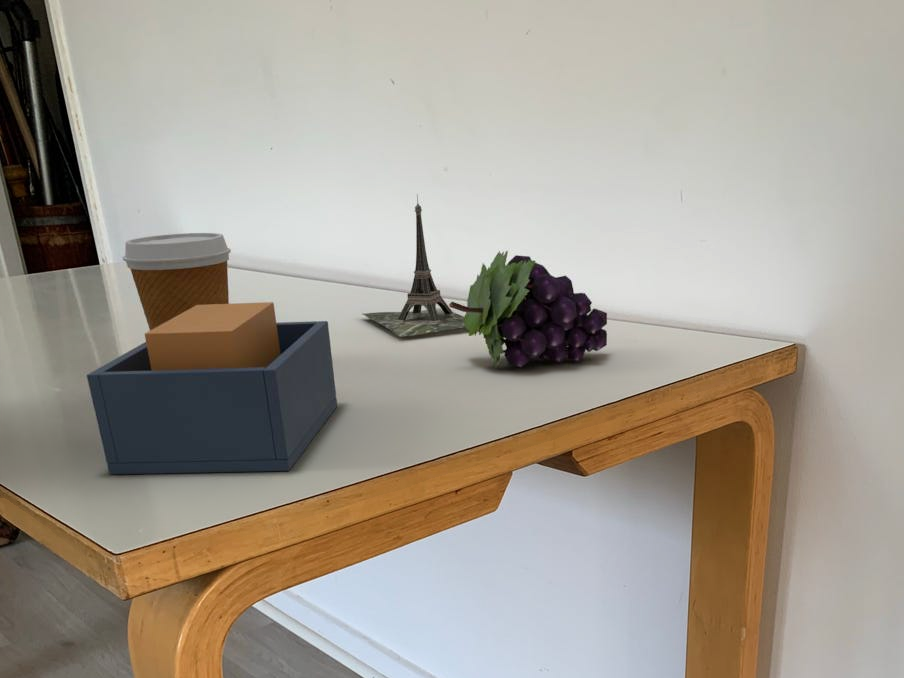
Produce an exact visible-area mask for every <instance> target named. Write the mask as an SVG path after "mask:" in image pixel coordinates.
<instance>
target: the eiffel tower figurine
mask: <svg viewBox="0 0 904 678" xmlns="http://www.w3.org/2000/svg"><path fill="white" fill-rule="evenodd" d="M416 200H417V203H416V206H414V212H415V222H416V223H415V226H416V227H415V229H416V231H415V232H416V237H415V238H416V239H415V240H416V245H415V248H416V249H415V252H416V253H415V269H414V271H413V273H414V276H413V281H412V285H411V289H410V292H407V299H406V302H405V304H404V305H403V307H402V309H401V311H379V312H377V311H376V312H365V313H362V315H363V316H365V317H366V318H368V319H370V320H371V321H373V322H375V323H377V324H379V325H381V326H383V327H384V328H386V329H388V330H389V331H391V332H392V333H393V334H395V335H396V336H397V337H399V338H403V337H409V336H417V335H424V334H429V333H430V334H431V333H436V332H437V333H438V332H442V331H448V330H455V329H460V328H466V327H465V326H464V315H461V314H458V313H456V312H453V310H452V309H451V307H450V306H449V304H447V302H446V301H445V300H444V298H443V297H442V296H441V290H440V289H437V287H436V284H435V282H434V279H433V276H432V273H431V272H432V269H430V266H429V262H428V256H427V250H426V249H427V248H426V244H425V243H426V241H425V236H424V228H423V221H422V220H423V219H422V211H423V210H422V206H421V205H420V203H419V195H418V194H416ZM437 306H438V307H439V309H437ZM422 307H423V308H425V310H422ZM411 309H412V311H411Z"/></svg>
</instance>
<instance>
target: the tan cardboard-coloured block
mask: <svg viewBox="0 0 904 678" xmlns="http://www.w3.org/2000/svg"><path fill="white" fill-rule="evenodd" d="M276 323H277V318H276V312H275V304H274V302H273V301H269V302H268V301H267V302H239V303H229V304H207V305H196V306H194V307H192V308H190V309H189V310H187V311H185V312H183V313H181V314H180V315H178V316H176V317H174V318H172V319H170V320H169V321H167V322H165V323H163V324H161V325H160V326H158V327H156V328H154V329H152V330H150V329H149V331H147V332H145V333H144V338H145V342H146V344H147V349H148V354H149V359H150V364H151V369H152V371H156V370H190V369H224V368H258V367H265V368H266V367H268V366H269V365H270V364H271V363H272V362H273V361H274V360H275V359H277V358H278V357H279V356H280V355H281V353H280V346H279V339H278V332H277V324H276Z"/></svg>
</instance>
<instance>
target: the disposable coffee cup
mask: <svg viewBox="0 0 904 678" xmlns="http://www.w3.org/2000/svg"><path fill="white" fill-rule="evenodd" d="M124 245H125V248H124V251H125V252H124V255H123V256H122V260H123V261H124V262H125V263H126V267H127V268H128V269H130V273H131V275H132V279H133V282H134V285H135V288H136V291H137V294H138V297H139V301H140V304H141V307H142V309H143V313H144V316H145V319H146V323H147V325H148V329H149V331H150V330H152V329H154V328H156V327H158V326H160V325H161V324H163V323H165V322H167V321H169V320H170V319H172V318H174V317H176V316H178V315H180V314H181V313H183V312H185V311H187V310H189V309H190V308H192V307H194V306H196V305H207V304H230V301H229V300H230V299H229V298H230V297H229V276H228V275H229V273H228V271H229V270H228V261H229V260H230V253H232V250H231V248H230V247H228V245H227V242H226V240H225V237H224V235H223V234H222V233H218V232H217V233H216V232H187V233H186V232H185V233H184V232H183V233H170V234H157V235H151V236H142V237H137V238H131V239H128V240H127V241H125V244H124Z"/></svg>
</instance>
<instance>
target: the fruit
mask: <svg viewBox="0 0 904 678" xmlns="http://www.w3.org/2000/svg"><path fill="white" fill-rule="evenodd" d="M504 252H505V253H504ZM508 252H509V251H508V250H506V251H505V250H504V251H502V252H501V251H500V250H499V251H497V253H496V255H495V256H494V258H493V259H492V262H491V263H490V265H489V266H488V268H487V266H486V264H485V263H484V262H482V265H481V267H480V273H479V274H477V275H476V280H475V281H474V282H473V284H472V285H470V286H469V290H468V296H467V299H466V306H465V305H463V304H460V303H457V302H454V301H451V302H450V303H448V306H449V308H450V309H451V308H452V309H454V310H456V311H460V312H463V313H465V314H464V315H463V317H464V326H465V327H464V328H465V329H466V330H467V331H468V337H472V336H474V337H476V335H477V334H478V335H479V336H481V334H482V335H483V339H484V341H485V344H486V347H487V349H488V354H489V356H490V358H491V359H492V360H493V364H494V365H493V366H494V368H495V369H497V367H498V365H499V364H500V363H501V355H503V354H504V355H503V356H504V357H505V359H506V361H507V362H508V365H509V366H511V367H515V368H521V369H522V368H523V367H524V366H526V364H527V363H528V362H530V361H531V359H532V358H534V357H535V358H537V359H540V360H543V361H546V360H550V361H553V362H555V363H559V364H561V363H562V362H563V361H564V360H565V359H566V358H567V359H568V360H571V361H582V360H583V357H584V355H585V352H586V351H587V352H588V353H591V351H595V352H597V351H599V350H602V349H603V348H605V347H606V346H607V343H608V332H607V330H606V329H604V327H605V326H606V325H607V324H608V313H607V312H605V311H603V310H600V309H598V308H593V309H592V306H591V305H592V304H593V302H592V301H591V299H590V298H589V296H587V294H586V293H585V292H577V293H575V292H574V286H573V282H572V279H571V278H569V277H568V276H567V275H561V276H556V277H555V276H554V275H552V274H550V272H549V271H548V270H547V268H546V267H545V266H544V265H543V264H541V263H538V262H536V261H537V260H532V258H531V256H530V255H529V256H528V255H514V256H513V257H512V258H511V259H510V260H509V261H508V262H507V258H508ZM504 345H505V348H506V349H504V348H503V346H504Z"/></svg>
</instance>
